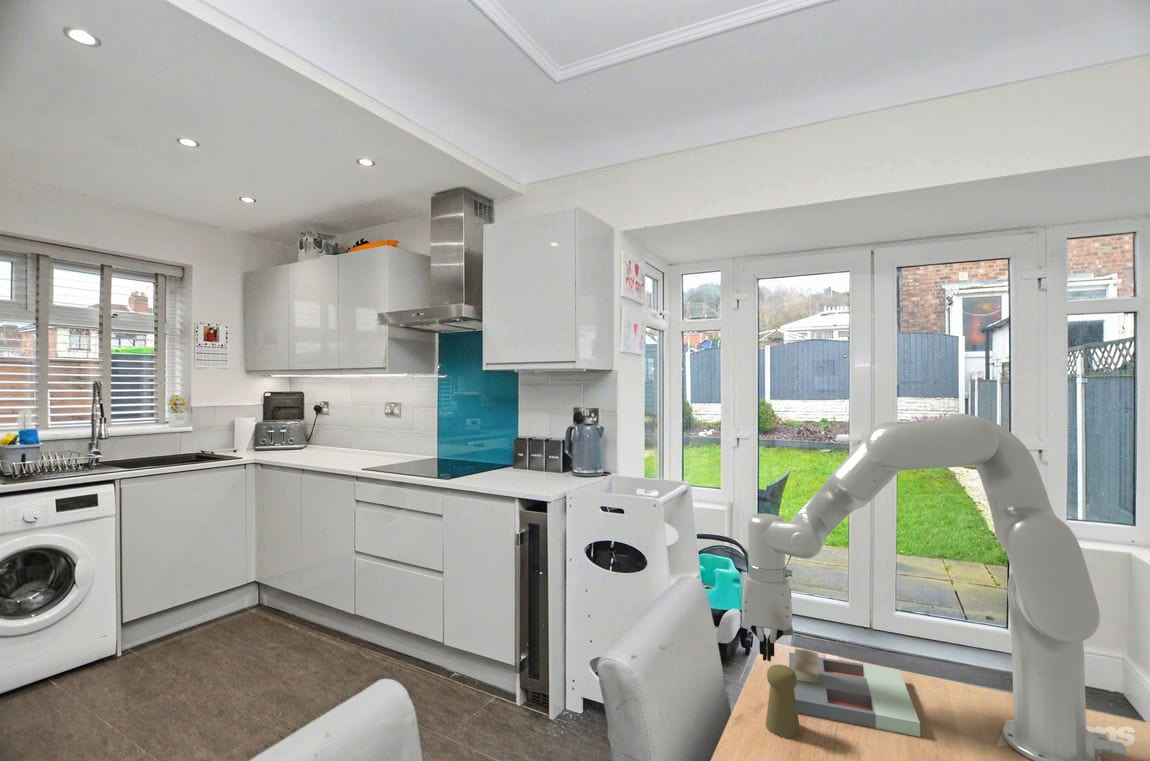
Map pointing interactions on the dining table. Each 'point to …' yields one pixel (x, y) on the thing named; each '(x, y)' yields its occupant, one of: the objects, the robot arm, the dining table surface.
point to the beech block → (807, 666)
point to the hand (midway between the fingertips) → (767, 658)
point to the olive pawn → (782, 702)
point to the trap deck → (858, 696)
